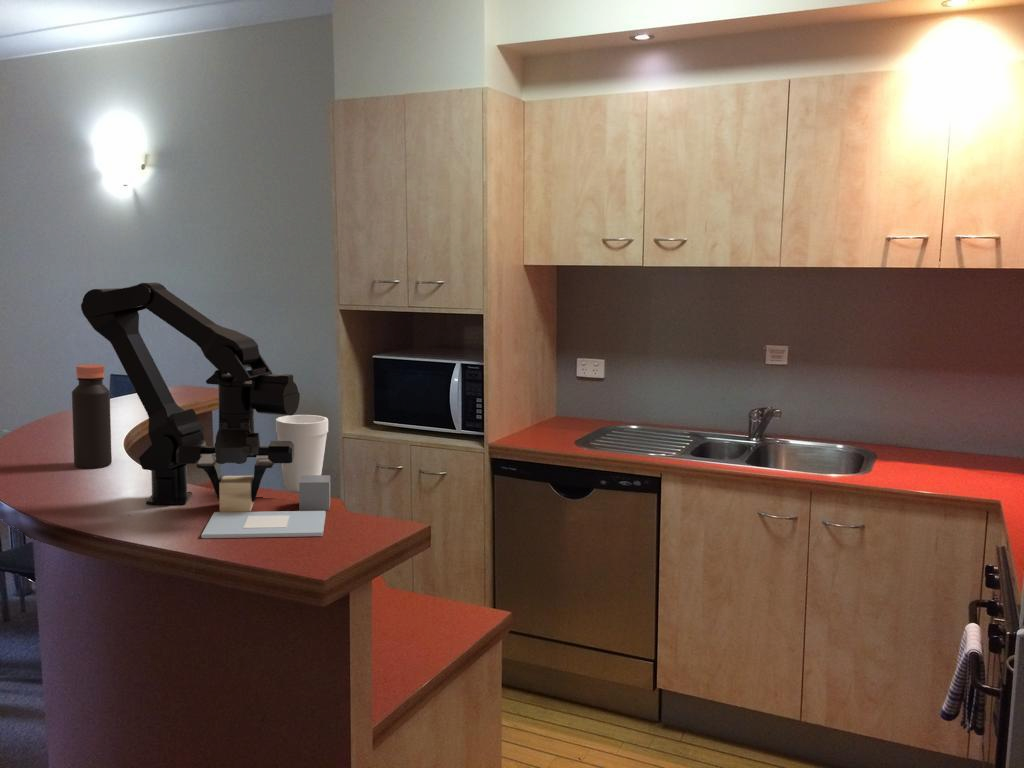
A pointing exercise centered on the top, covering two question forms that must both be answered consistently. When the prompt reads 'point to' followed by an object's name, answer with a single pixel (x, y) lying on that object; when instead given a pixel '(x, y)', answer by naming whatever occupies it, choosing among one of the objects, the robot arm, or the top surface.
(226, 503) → the maple block
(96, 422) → the bottle
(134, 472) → the top surface
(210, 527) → the board
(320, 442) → the foam cup
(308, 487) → the charcoal block
